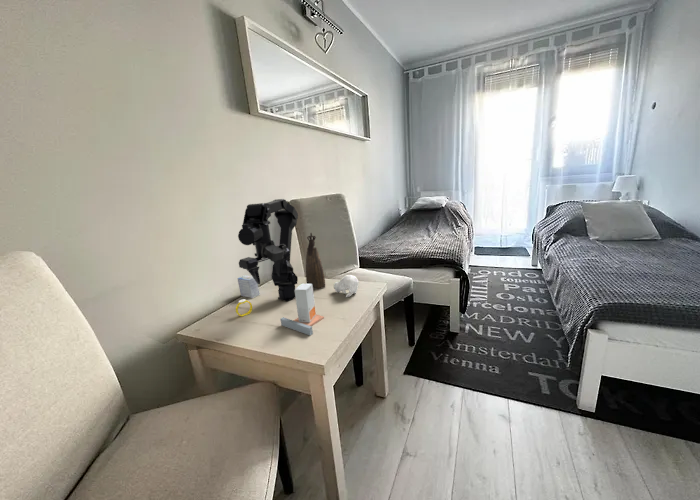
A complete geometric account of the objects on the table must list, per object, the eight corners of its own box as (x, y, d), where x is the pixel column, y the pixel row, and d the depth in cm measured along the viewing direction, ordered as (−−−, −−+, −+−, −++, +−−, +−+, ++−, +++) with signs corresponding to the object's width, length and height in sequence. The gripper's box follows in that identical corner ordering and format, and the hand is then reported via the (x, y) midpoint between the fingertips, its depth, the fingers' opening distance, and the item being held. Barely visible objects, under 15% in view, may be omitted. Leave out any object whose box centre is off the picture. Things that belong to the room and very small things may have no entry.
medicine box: (260, 294, 130) (256, 276, 128) (252, 298, 127) (248, 279, 125) (248, 292, 135) (245, 274, 133) (240, 296, 131) (236, 278, 129)
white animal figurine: (348, 278, 114) (327, 276, 122) (352, 298, 116) (331, 295, 124) (358, 273, 119) (337, 272, 127) (362, 293, 120) (340, 290, 128)
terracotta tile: (308, 313, 107) (307, 312, 107) (324, 318, 102) (324, 316, 102) (291, 322, 101) (291, 321, 101) (307, 328, 96) (307, 326, 96)
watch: (239, 319, 108) (235, 305, 107) (236, 317, 110) (232, 303, 109) (254, 312, 112) (250, 298, 111) (251, 310, 114) (247, 296, 113)
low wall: (284, 323, 101) (283, 317, 100) (312, 333, 92) (311, 326, 92) (281, 325, 100) (280, 318, 99) (310, 335, 91) (309, 328, 91)
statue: (325, 282, 138) (318, 231, 131) (325, 288, 131) (318, 234, 124) (307, 284, 137) (299, 233, 130) (306, 291, 130) (298, 237, 123)
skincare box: (310, 323, 98) (305, 289, 95) (298, 322, 99) (293, 289, 96) (316, 314, 104) (312, 283, 101) (305, 314, 105) (301, 283, 102)
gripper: (253, 246, 92) (261, 292, 96) (297, 234, 106) (302, 274, 110) (234, 244, 99) (242, 287, 103) (277, 233, 113) (283, 271, 117)
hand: (269, 279), depth 108 cm, fingers open, 9 cm apart
